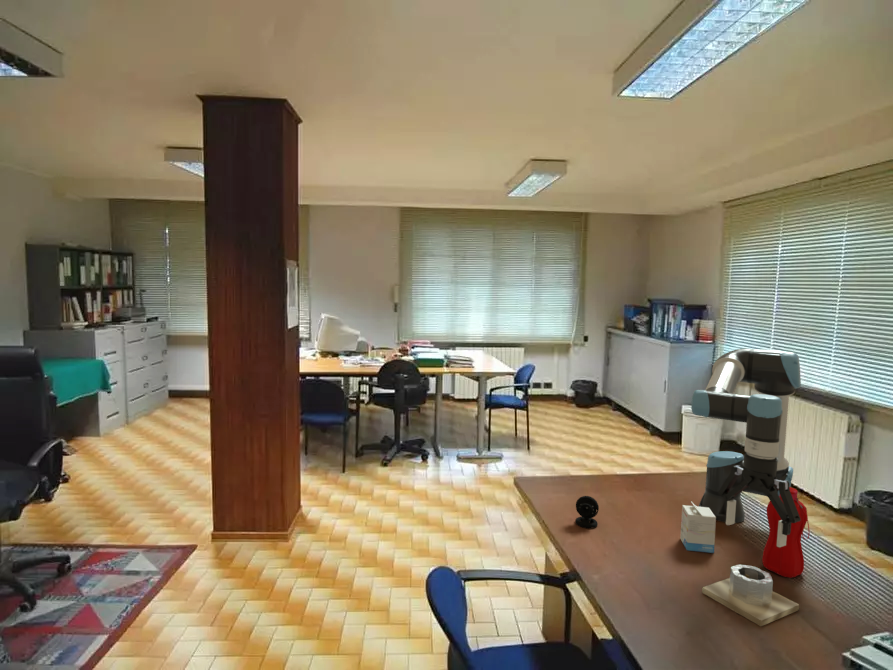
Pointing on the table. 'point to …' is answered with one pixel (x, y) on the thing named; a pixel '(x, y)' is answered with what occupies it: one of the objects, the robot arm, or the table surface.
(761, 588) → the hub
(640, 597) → the table surface
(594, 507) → the webcam
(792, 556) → the water bottle
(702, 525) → the ink box
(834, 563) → the table surface
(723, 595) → the shaft block
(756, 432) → the robot arm
